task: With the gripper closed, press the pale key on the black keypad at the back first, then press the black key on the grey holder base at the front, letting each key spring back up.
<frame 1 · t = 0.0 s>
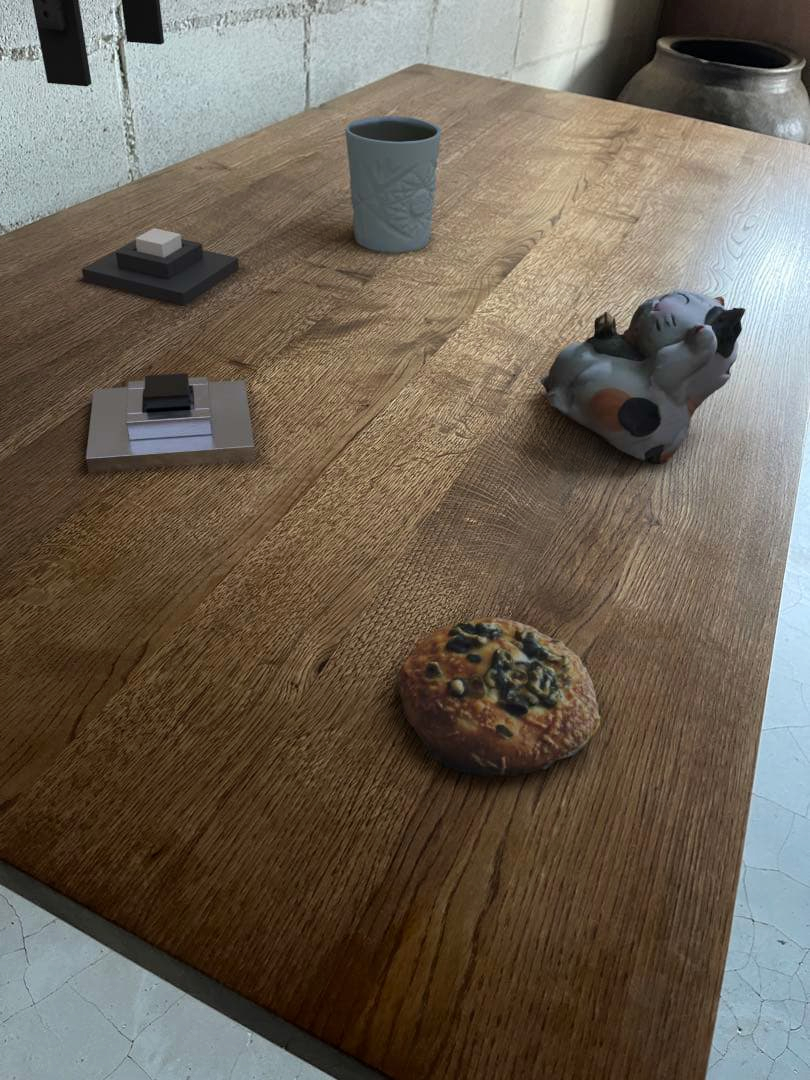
hand: (110, 62, 65), 24 cm above the table, tool pointing down, fingers open, 13 cm apart
front key: (167, 393, 70), point 3 cm above the table, slide at 0.1 cm
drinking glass: (389, 240, 105), on the table
grey holder base: (172, 431, 72), on the table
back key: (158, 243, 92), point 3 cm above the table, slide at 0.1 cm
lucky cat figurine: (620, 425, 76), on the table
back keypad: (163, 275, 94), on the table
bread roll: (496, 705, 52), on the table
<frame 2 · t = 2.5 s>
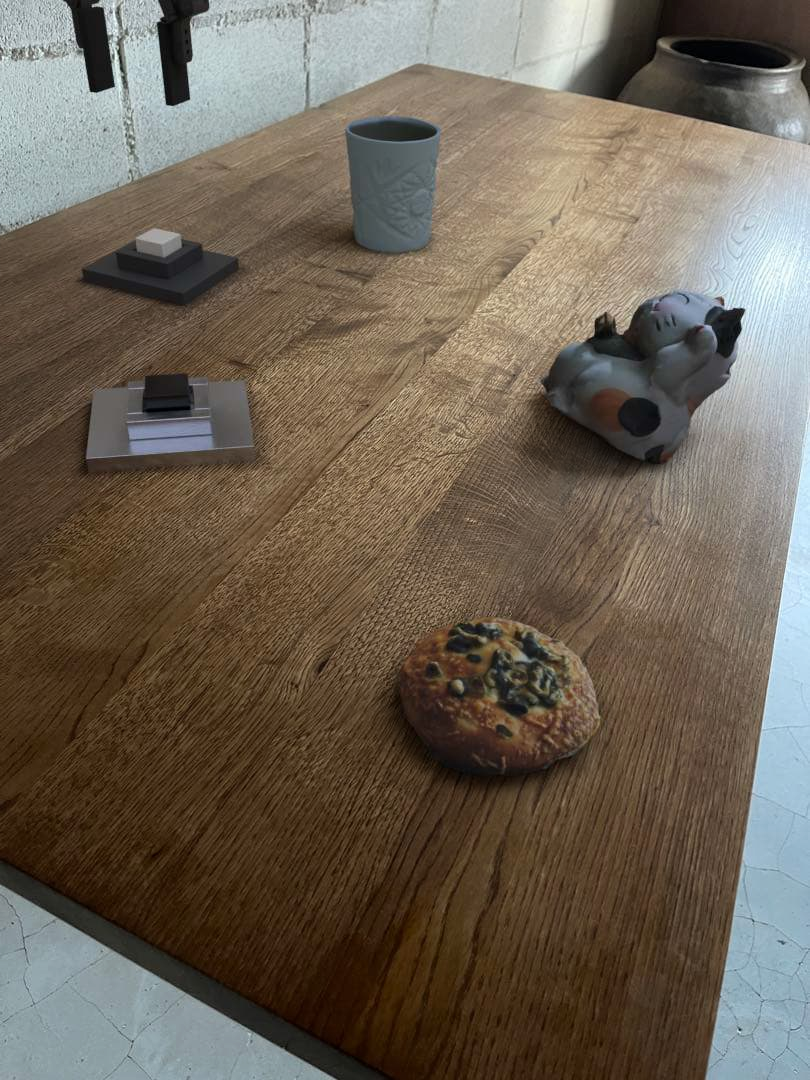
hand: (139, 95, 83), 17 cm above the table, tool pointing down, fingers open, 8 cm apart
nothing on the table moved.
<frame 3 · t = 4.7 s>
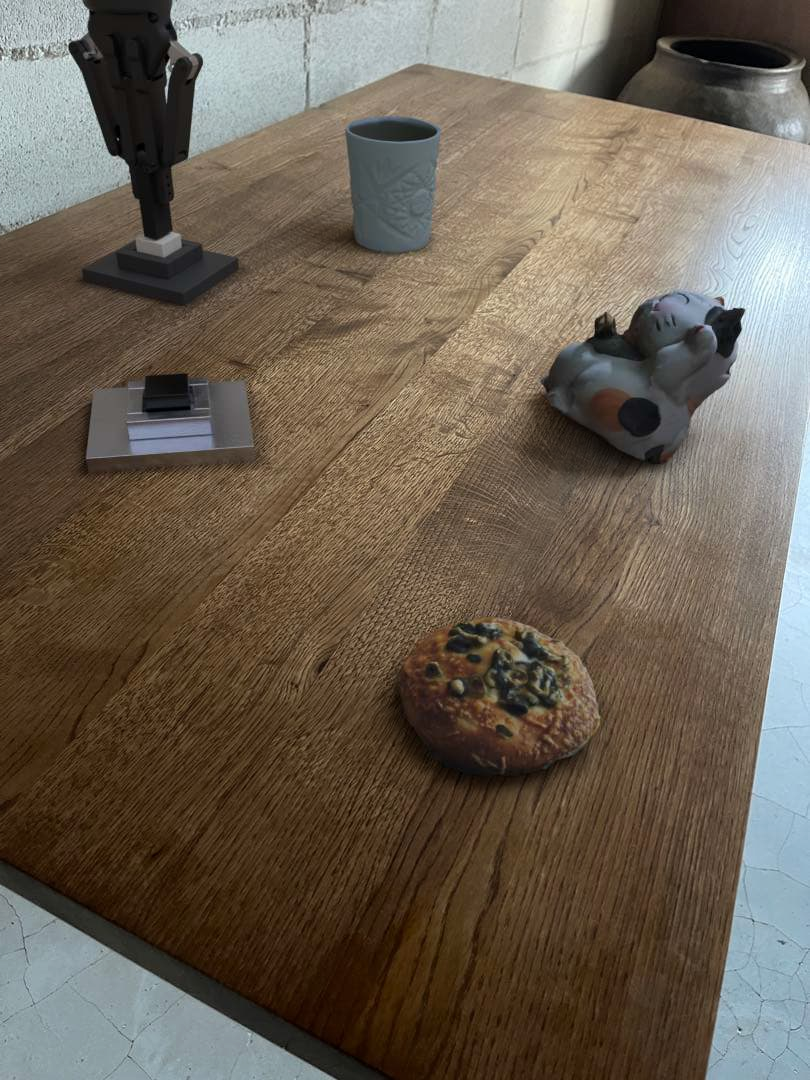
hand: (158, 233, 92), 4 cm above the table, tool pointing down, fingers closed
back key: (158, 243, 92), point 3 cm above the table, slide at 0.1 cm, touching gripper
everything else where it was.
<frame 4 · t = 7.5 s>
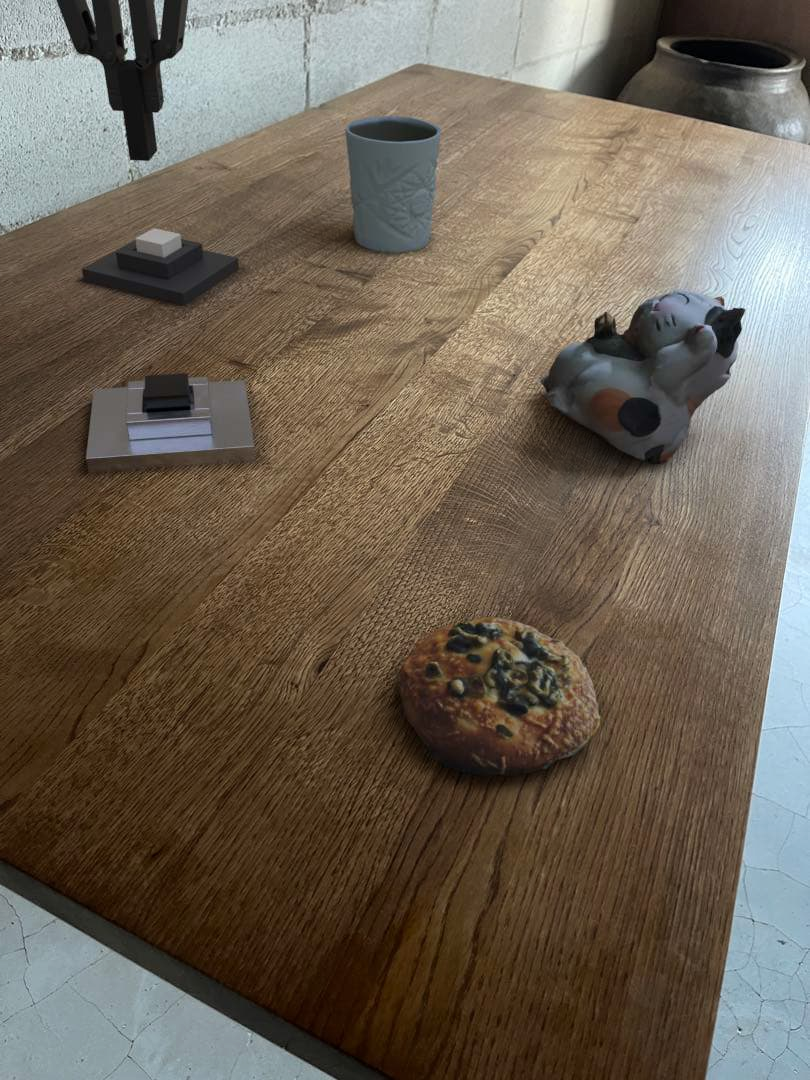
hand: (143, 154, 72), 17 cm above the table, tool pointing down, fingers closed
back key: (158, 243, 92), point 3 cm above the table, slide at 0.1 cm
everything else where it was.
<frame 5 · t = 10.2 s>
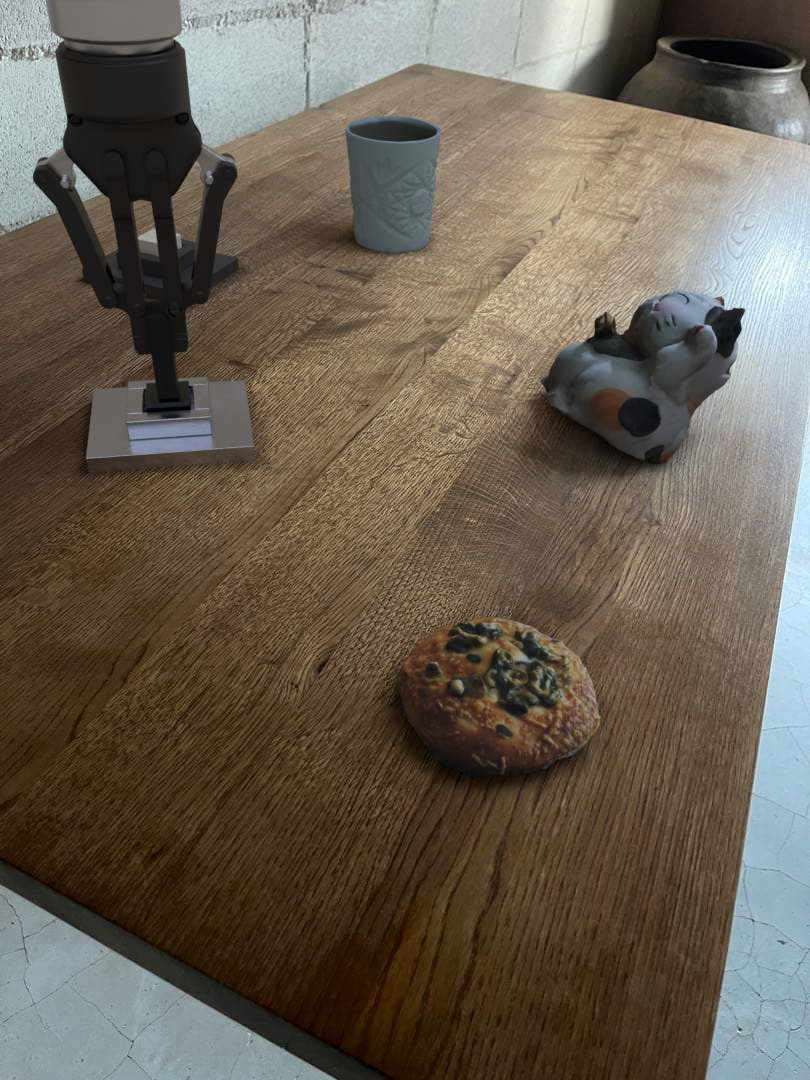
hand: (168, 389, 69), 4 cm above the table, tool pointing down, fingers closed
front key: (168, 400, 70), point 3 cm above the table, slide at -0.5 cm, touching gripper
everything else where it was.
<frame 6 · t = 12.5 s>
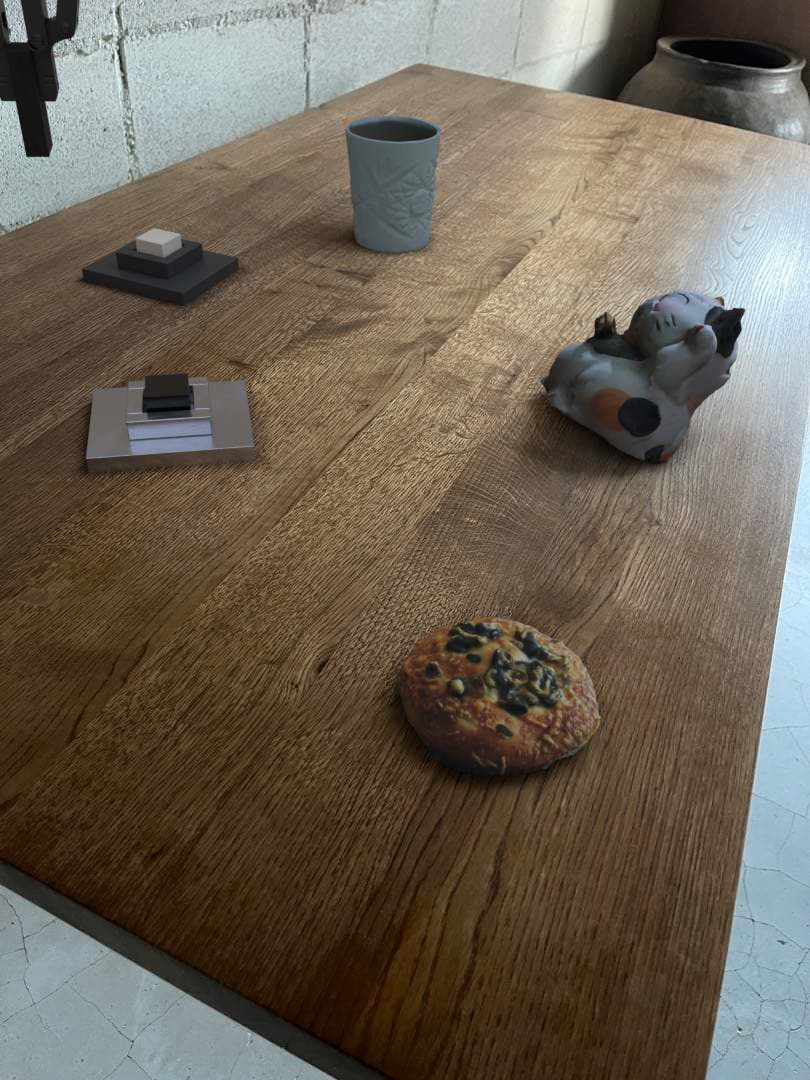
hand: (39, 150, 64), 19 cm above the table, tool pointing down, fingers closed
front key: (167, 393, 70), point 3 cm above the table, slide at 0.1 cm
everything else where it was.
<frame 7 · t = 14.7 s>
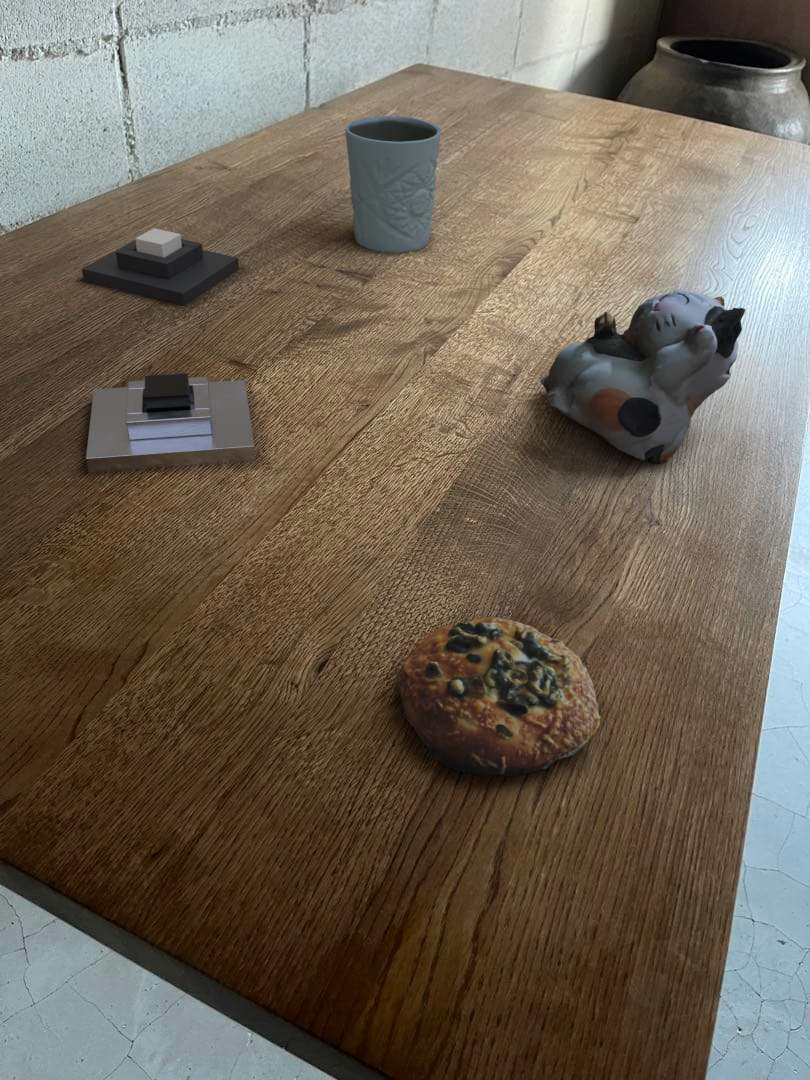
nothing on the table moved.
at the end: back key pushed in 0.8 cm at the most during the clip, back to where it started at the end; front key pushed in 0.8 cm at the most during the clip, back to where it started at the end; front key slide at 0.1 cm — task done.
